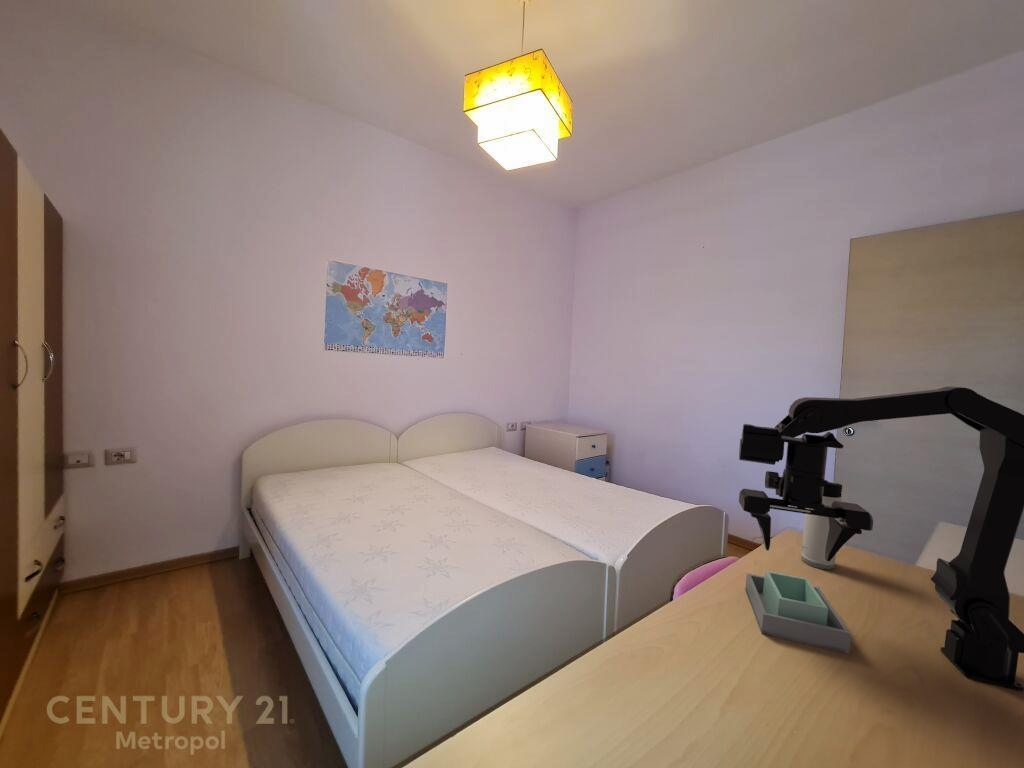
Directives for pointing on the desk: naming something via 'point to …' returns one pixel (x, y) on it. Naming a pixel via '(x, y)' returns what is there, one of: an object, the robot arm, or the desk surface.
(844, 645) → the tray
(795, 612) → the small tote
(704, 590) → the desk surface
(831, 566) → the travel mug
